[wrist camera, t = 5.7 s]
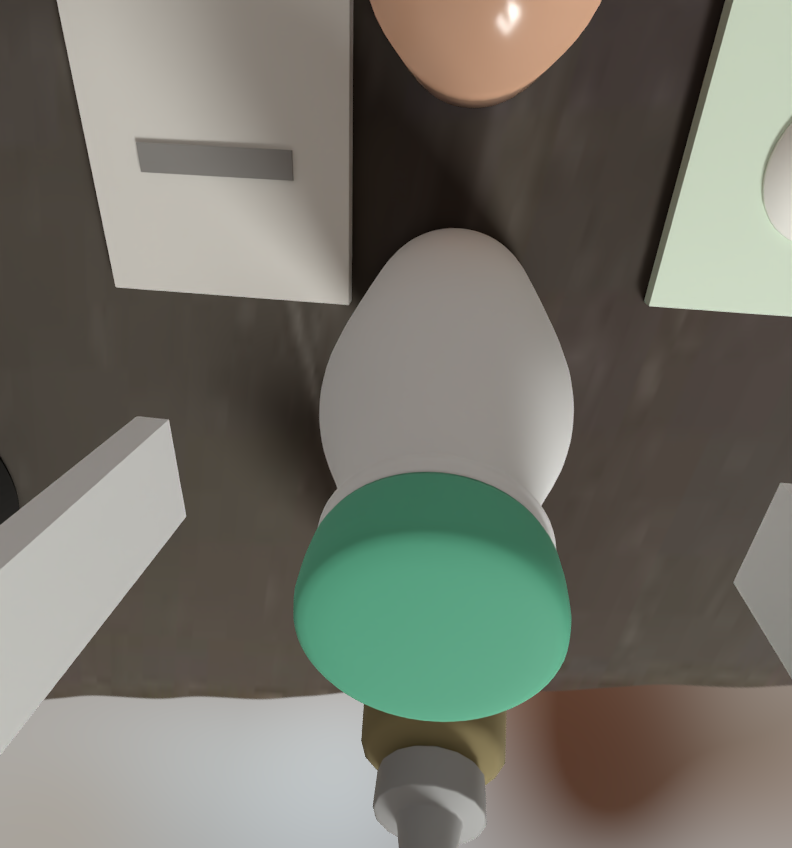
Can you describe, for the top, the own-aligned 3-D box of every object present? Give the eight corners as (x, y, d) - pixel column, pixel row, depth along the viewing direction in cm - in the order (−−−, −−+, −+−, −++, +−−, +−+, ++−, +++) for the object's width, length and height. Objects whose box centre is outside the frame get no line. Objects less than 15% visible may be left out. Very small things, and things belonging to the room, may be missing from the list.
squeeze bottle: (432, 629, 36) (409, 997, 21) (354, 556, 34) (261, 908, 18) (530, 580, 33) (592, 968, 18) (452, 496, 31) (441, 856, 15)
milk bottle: (393, 206, 24) (202, 362, 6) (555, 249, 24) (807, 519, 6) (360, 358, 28) (182, 724, 10) (501, 395, 28) (568, 822, 10)
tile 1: (124, 283, 27) (113, 288, 26) (66, -10, 22) (49, -16, 21) (351, 300, 26) (347, 305, 25) (353, -1, 21) (348, -8, 20)
